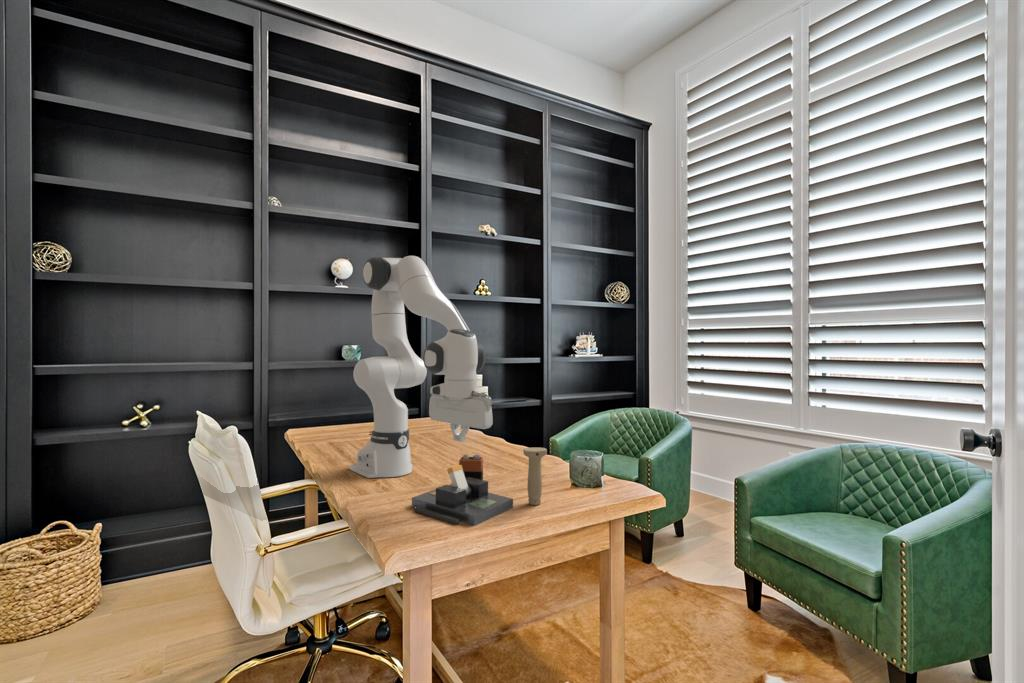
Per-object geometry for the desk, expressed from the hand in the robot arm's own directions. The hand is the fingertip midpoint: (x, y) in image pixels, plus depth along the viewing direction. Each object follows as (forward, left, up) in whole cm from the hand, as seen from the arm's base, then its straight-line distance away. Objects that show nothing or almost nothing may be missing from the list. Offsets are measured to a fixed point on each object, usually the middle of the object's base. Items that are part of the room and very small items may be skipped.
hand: (459, 440), depth 133 cm
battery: (-8, +14, -18) cm, 24 cm away
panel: (+1, 0, -18) cm, 18 cm away
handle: (+15, +14, -18) cm, 27 cm away
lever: (+2, 0, -15) cm, 15 cm away
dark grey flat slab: (+1, 0, -18) cm, 18 cm away
